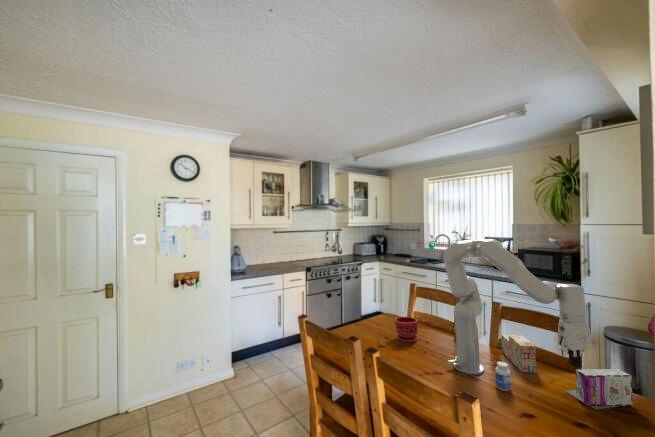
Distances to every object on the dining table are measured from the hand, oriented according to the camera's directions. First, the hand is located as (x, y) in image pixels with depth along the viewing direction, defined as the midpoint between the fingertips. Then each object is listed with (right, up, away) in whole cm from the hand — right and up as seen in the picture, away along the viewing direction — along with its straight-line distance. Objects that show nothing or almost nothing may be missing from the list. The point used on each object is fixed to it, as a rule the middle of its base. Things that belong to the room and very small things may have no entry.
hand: (575, 366), depth 105 cm
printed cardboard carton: (0, -15, +31) cm, 35 cm away
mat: (+9, -13, +1) cm, 16 cm away
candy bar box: (+1, -7, -1) cm, 7 cm away
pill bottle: (-21, -14, +10) cm, 27 cm away
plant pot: (-46, -17, +62) cm, 79 cm away
